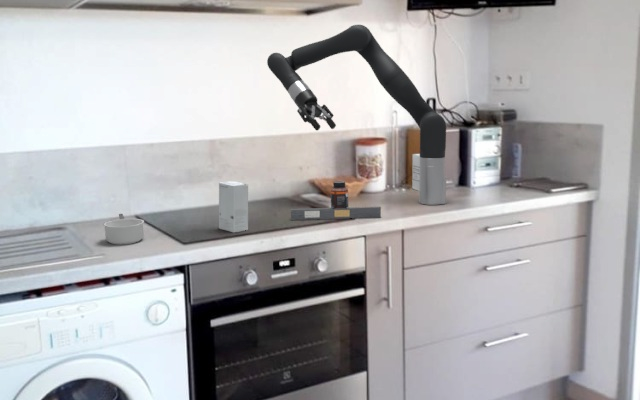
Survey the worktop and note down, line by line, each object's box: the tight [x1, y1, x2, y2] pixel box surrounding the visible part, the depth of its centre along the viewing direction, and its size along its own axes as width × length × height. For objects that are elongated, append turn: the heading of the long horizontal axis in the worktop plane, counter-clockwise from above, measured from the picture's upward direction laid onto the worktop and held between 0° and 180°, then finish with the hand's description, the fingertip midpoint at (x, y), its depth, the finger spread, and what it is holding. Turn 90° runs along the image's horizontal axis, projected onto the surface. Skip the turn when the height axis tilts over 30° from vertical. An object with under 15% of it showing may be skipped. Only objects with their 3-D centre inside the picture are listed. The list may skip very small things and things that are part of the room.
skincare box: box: [218, 180, 249, 233], centre depth 199 cm, size 8×6×15 cm
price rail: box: [290, 206, 382, 221], centre depth 213 cm, size 30×2×4 cm, turn 94°
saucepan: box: [102, 213, 145, 245], centre depth 191 cm, size 12×20×6 cm, turn 20°
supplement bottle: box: [330, 180, 349, 208], centre depth 218 cm, size 6×6×11 cm
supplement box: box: [411, 153, 420, 192], centre depth 267 cm, size 9×9×15 cm
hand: (326, 128), depth 230 cm, fingers open, 8 cm apart
